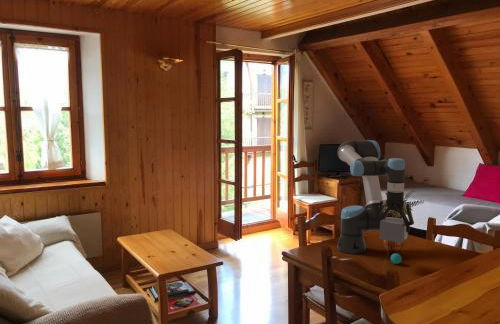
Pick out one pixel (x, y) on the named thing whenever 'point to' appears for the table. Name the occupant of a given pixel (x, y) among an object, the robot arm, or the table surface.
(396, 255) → the ball
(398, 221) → the dark grey block
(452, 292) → the table surface
